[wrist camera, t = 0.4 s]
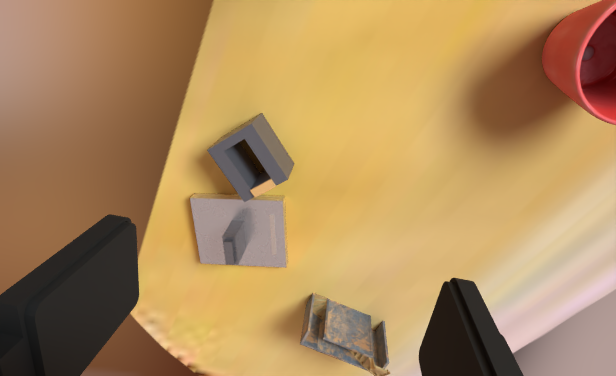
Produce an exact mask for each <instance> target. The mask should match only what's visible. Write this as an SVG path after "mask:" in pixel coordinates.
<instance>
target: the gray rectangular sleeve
mask: <svg viewBox="0 0 616 376" xmlns="http://www.w3.org/2000/svg"><path fill="white" fill-rule="evenodd" d="M243 139H245V140H246V142H247V143H248V145H249V146H250V148H251V149H252V151H253V152H254V154H255V155H256V157H257V158H258V160H259V161H260V163H261V164H262V166H263V167H264V169H265V171H263V172H262V173H260V171H259V170H258V168H257V167H256V165H255V164H254V163H253V161H252V160H251V158H250V157H249V155H248V154H247V152H246V151H245V149H244V148H243V146H242V145H241V143H240V141H242V140H243ZM207 151H208V152H209V154H210V155H211V156H212V158H213V159H214V161H215V162H216V163H217V165H218V166H219V168H220V169H221V170H222V172H223V173H224V175H225V176H226V177H227V179H228V180H229V182H230V183H231V184H232V186H233V187H234V189H235V190H236V191H237V193H238V194H239V196H240V197H241V198H242V200H243V201H244V202H246V201H248V200H250V199H252V198H254V197H257V196H259V195H261V194H263V193H265V192H267V191H268V190H270V189H272V188H274V187H276V185H278V184H280V183H282V182H284V181H286V180H288V178H289V175H290V173H291V171H292V168H293V166H294V162H293V161H292V159H291V158H290V156H289V155H288V153H287V151H286V150H285V148H284V147H283V145H282V144H281V142H280V140H279V139H278V137H277V136H276V134H275V133H274V131H273V129H272V128H271V126H270V125H269V123H268V122H267V120H266V119H265V117H264V115H263V114H262V113H261V114H259V115H258V116H256V117H254V118H253V119H251V120H249V121H248V122H246V123H244V124H243V125H241V126H239V127H238V128H236V129H235V130H233V131H231V132H230V133H228V134H226V135H225V136H223V137H221V138H220V139H219V140H218V141H217V142H216V143H215V144H214V145H212V146H211V147H210V148H209V149H208V150H207Z"/></svg>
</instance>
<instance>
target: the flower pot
mask: <svg viewBox="0 0 616 376" xmlns="http://www.w3.org/2000/svg"><path fill="white" fill-rule="evenodd" d="M542 65H543V69H544V72H545V74H546V76H547V77H548V78H549V80H550V81H551V82H552V83H553V84H555V85H556V86H557V87H558V88H559V89H560V90H561V91H563V92H564V93H565V94H566V95H567V96H568V97H570V98H571V99H572V100H573V101H575V102H576V103H577V104H578V105H579V106H581V107H582V108H583V109H585V110H586V111H587V112H589V113H590V114H591V115H593V116H595V117H596V118H598V119H600V120H602V121H604V122H607V123H610V124H613V125H616V0H602V1H599V2H597V3H595V4H592V5H590V6H588V7H585V8H583V9H581V10H578V11H576V12H574V13H572V14H570V15H569V16H567V17H566V18H565V19H563V20H562V21H561V22H560V23H559V24H558V25H557V26H556V27H555V28H554V29H553V31H552V32H551V33H550V35H549V37H548V38H547V40H546V42H545V45H544V48H543V53H542Z"/></svg>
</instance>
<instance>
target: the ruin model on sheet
mask: <svg viewBox="0 0 616 376" xmlns="http://www.w3.org/2000/svg"><path fill="white" fill-rule="evenodd" d="M300 344H301V345H304V346H306V347H309V348H311V349H314V350H316V351H319V352H321V353H324V354H327V355H329V356H332V357H334V358H337V359H339V360H342V361H344V362H347V363H349V364H352V365H354V366H357V367H360V368H362V369H365V370H367V371H369V372H370V373H372V374H373V375H374V376H385V375H388V374H390V371H389V372H388V370H385V368H386V366H387V365H388V364H389V358H388V349H387V340H386V330H385V322H384V321H382V322H381V324H380V325H379V327H378V328H377V330H376V331H374V330H371V316H370V315H366V314H364V313H361V312H359V311H356V310H354V309H351V308H349V307H347V306H344V305H342V304H339V303H337V302H334V301H332V300H329V299H328V298H325V297H323V296H320V295H318V294H316V293H313V294H312V296H311V298H310V299H309V301H308V303H307V305H306V310H305V317H304V323H303V329H302V335H301V342H300Z"/></svg>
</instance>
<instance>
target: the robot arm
mask: <svg viewBox="0 0 616 376" xmlns="http://www.w3.org/2000/svg"><path fill="white" fill-rule="evenodd" d="M138 298H139V281H138V258H137V236H136V226H135V224H133V223H131V220H130V219H129V218H127V217H121V216H116V215H107V216H105V217H104V218H103V219H101V220H100V221H99V222H97V223H96V224H95V225H93V226H92V227H91V228H89V229H88V230H87V231H85V232H84V233H83V234H81V235H80V236H79V237H77V238H76V239H75V240H73V241H72V242H71V243H70V244H68V245H67V246H65V247H64V248H63V249H61V250H60V251H58V252H57V253H56V254H54V255H53V256H52V257H50V258H49V259H48V260H46V261H45V262H44V263H42V264H41V265H40V266H38V267H37V268H36V269H34V270H33V271H32V272H31V273H29V274H28V275H26V276H25V277H24V278H22V279H21V280H20V281H18V282H17V283H16V284H14V285H13V286H12V287H10V288H9V289H7V290H6V291H5V292H4V293H2V294H1V295H0V376H80V375H81V374H82V372H83V371H84V370H85V369H86V367H87V366H88V365H89V364H90V362H91V361H92V360H93V359H94V357H95V356H96V355H97V354H98V352H99V351H100V350H101V349H102V347H103V346H104V345H105V344H106V342H107V341H108V340H109V338H110V337H111V336H112V335H113V333H114V332H115V331H116V330H117V328H118V327H119V326H120V324H121V323H122V322H123V321H124V320H125V318H126V317H127V316H128V315H129V313H130V312H131V311H132V309H133V308H134V307H135V305H136V304H137V301H138ZM419 363H420V368H421V373H422V376H523V374H522V372H521V370H520V368H519V366H518V364H517V362H516V360H515V358H514V356H513V354H512V352H511V350H510V348H509V346H508V344H507V342H506V340H505V338H504V337H503V336H502V335H501V334H500V333H499V331H498V329H497V327H496V325H495V323H494V321H493V319H492V317H491V315H490V313H489V311H488V309H487V306H486V304H485V302H484V300H483V298H482V296H481V294H480V292H479V290H478V288H477V286H476V284H475V283H474V282H473V281H469V280H463V279H458V278H452V279H451V280H450V282H447V281H446V282H444V283H443V285H442V288H441V291H440V294H439V297H438V299H437V302H436V305H435V308H434V311H433V313H432V316H431V319H430V322H429V325H428V327H427V330H426V333H425V336H424V339H423V341H422V344H421V347H420V350H419Z"/></svg>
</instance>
